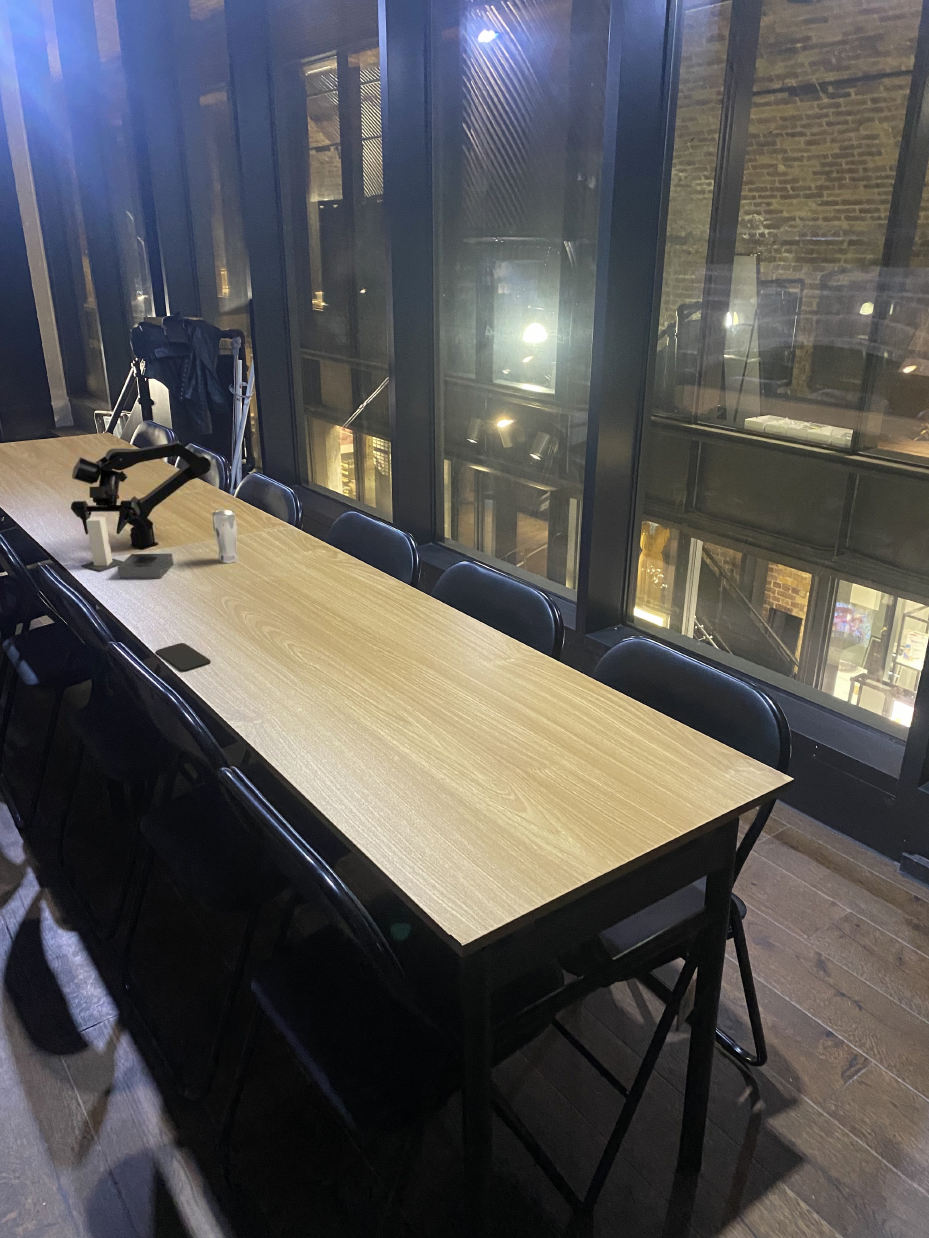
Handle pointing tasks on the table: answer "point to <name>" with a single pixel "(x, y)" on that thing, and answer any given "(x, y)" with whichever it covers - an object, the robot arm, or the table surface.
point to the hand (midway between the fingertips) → (102, 533)
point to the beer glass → (225, 535)
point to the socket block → (145, 566)
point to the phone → (183, 657)
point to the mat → (102, 568)
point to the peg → (99, 541)
